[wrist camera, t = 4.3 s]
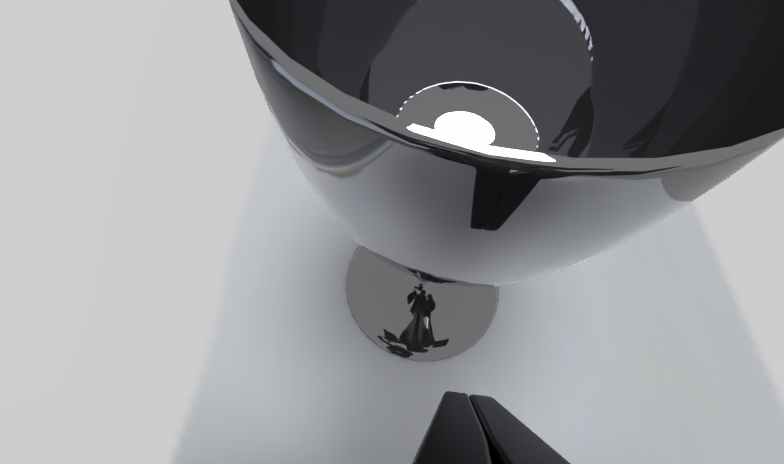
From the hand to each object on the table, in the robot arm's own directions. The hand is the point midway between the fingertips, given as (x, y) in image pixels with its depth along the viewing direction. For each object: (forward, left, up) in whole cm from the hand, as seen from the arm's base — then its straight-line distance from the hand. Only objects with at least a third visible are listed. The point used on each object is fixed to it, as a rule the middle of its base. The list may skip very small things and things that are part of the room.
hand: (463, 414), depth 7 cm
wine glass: (+3, +5, -10) cm, 12 cm away
